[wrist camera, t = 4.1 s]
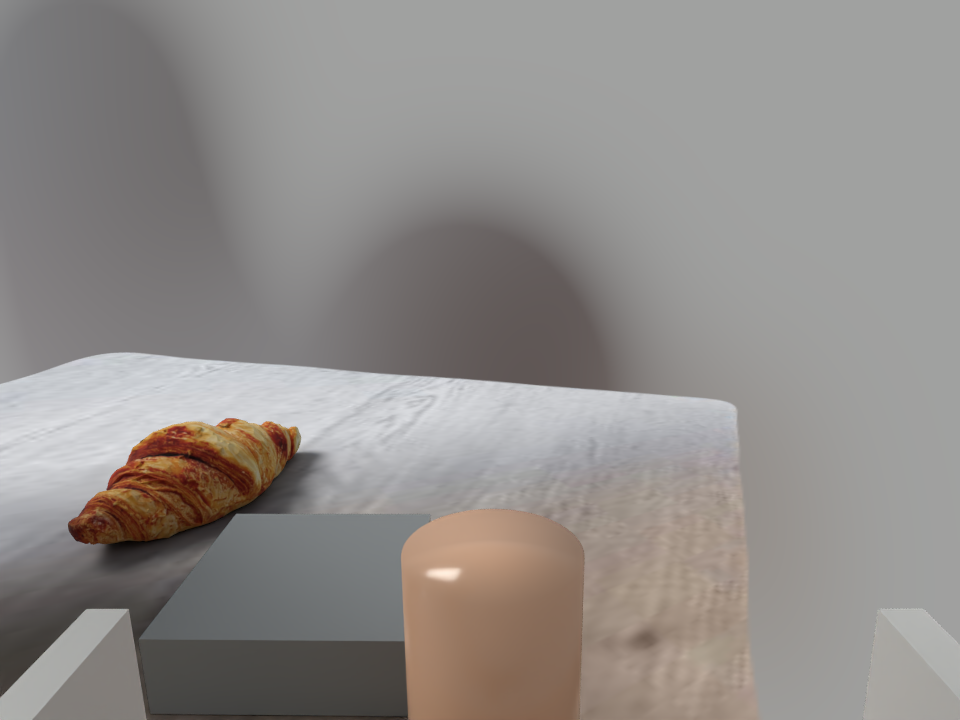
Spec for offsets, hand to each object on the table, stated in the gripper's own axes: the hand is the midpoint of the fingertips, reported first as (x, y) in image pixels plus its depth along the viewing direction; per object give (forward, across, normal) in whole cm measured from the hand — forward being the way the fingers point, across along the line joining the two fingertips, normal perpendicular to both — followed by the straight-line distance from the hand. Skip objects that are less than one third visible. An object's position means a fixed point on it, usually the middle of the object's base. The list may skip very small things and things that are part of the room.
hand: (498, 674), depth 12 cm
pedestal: (+22, -10, -15) cm, 29 cm away
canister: (+10, 0, -15) cm, 18 cm away
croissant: (+38, -23, -15) cm, 47 cm away
